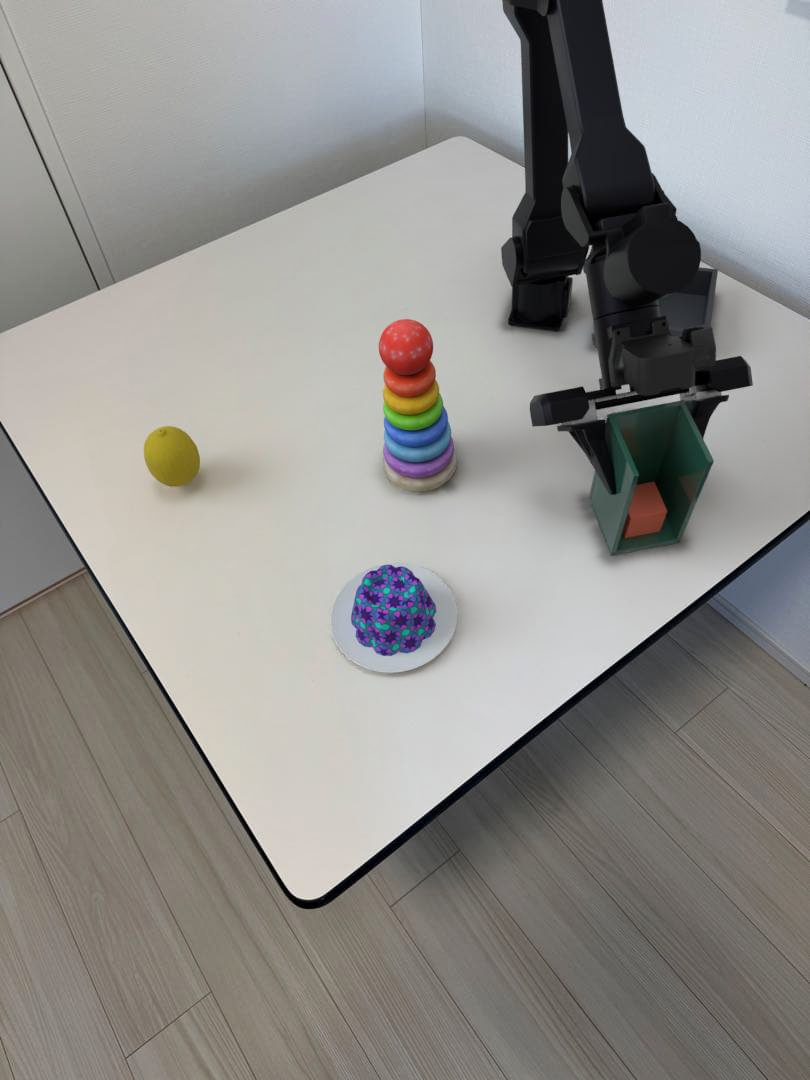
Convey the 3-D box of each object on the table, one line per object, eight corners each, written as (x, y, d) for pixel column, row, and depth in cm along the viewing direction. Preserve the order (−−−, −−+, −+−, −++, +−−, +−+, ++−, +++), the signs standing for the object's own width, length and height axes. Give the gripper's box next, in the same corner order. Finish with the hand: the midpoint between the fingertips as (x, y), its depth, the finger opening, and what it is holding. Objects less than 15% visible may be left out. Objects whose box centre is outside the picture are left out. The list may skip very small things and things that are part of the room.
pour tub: (588, 498, 83) (607, 414, 72) (655, 485, 83) (683, 399, 72) (610, 555, 79) (633, 476, 68) (679, 542, 80) (714, 460, 69)
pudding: (315, 664, 75) (305, 636, 71) (350, 559, 82) (342, 527, 78) (444, 686, 73) (441, 658, 68) (468, 576, 79) (467, 544, 75)
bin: (595, 347, 97) (598, 320, 94) (611, 285, 104) (615, 258, 101) (701, 361, 94) (708, 334, 91) (710, 296, 101) (718, 269, 98)
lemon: (167, 508, 88) (142, 458, 81) (152, 475, 91) (127, 424, 84) (215, 488, 89) (194, 437, 83) (199, 456, 92) (177, 404, 86)
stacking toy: (466, 447, 89) (461, 306, 74) (445, 502, 85) (435, 364, 70) (399, 434, 92) (381, 294, 77) (374, 487, 87) (350, 349, 72)
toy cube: (612, 508, 81) (618, 487, 78) (647, 502, 82) (654, 481, 79) (624, 538, 80) (630, 518, 77) (660, 531, 80) (667, 511, 77)
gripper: (545, 320, 64) (577, 515, 66) (773, 277, 65) (797, 470, 67) (516, 337, 75) (544, 503, 77) (711, 300, 76) (733, 465, 78)
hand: (651, 486), depth 74 cm, fingers closed on pour tub, 7 cm apart
